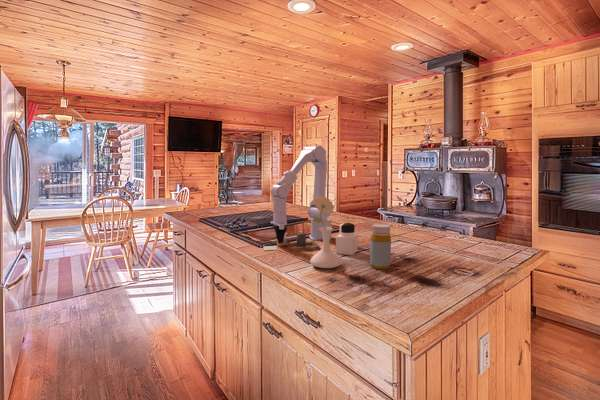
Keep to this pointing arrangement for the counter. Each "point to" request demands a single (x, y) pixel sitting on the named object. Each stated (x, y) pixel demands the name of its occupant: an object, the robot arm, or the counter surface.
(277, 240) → the latch bar
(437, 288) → the counter surface
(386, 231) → the bottle
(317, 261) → the flower in vase
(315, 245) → the frame
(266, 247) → the off-white flat square block
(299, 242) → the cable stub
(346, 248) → the medicine bottle
